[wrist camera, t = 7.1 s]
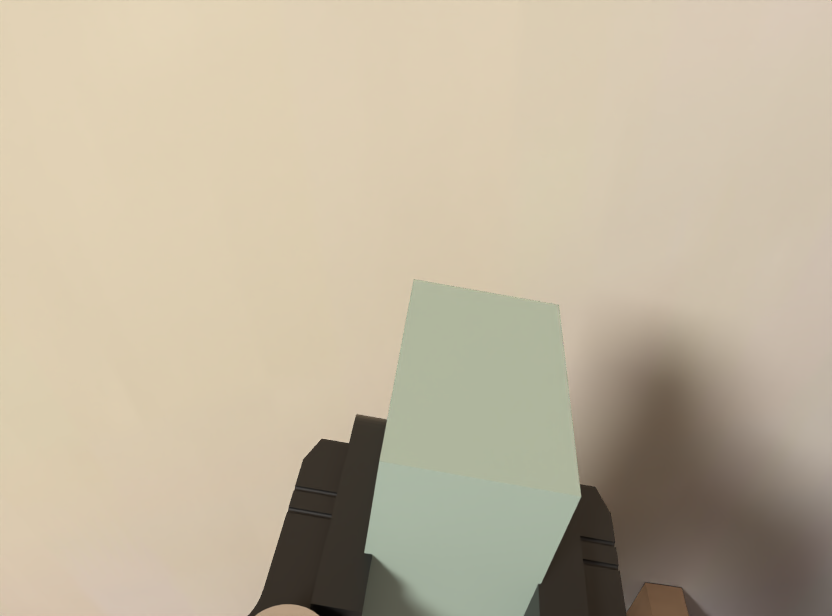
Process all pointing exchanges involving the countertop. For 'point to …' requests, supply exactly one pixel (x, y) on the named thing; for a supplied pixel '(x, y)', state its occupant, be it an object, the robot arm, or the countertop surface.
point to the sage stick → (472, 458)
